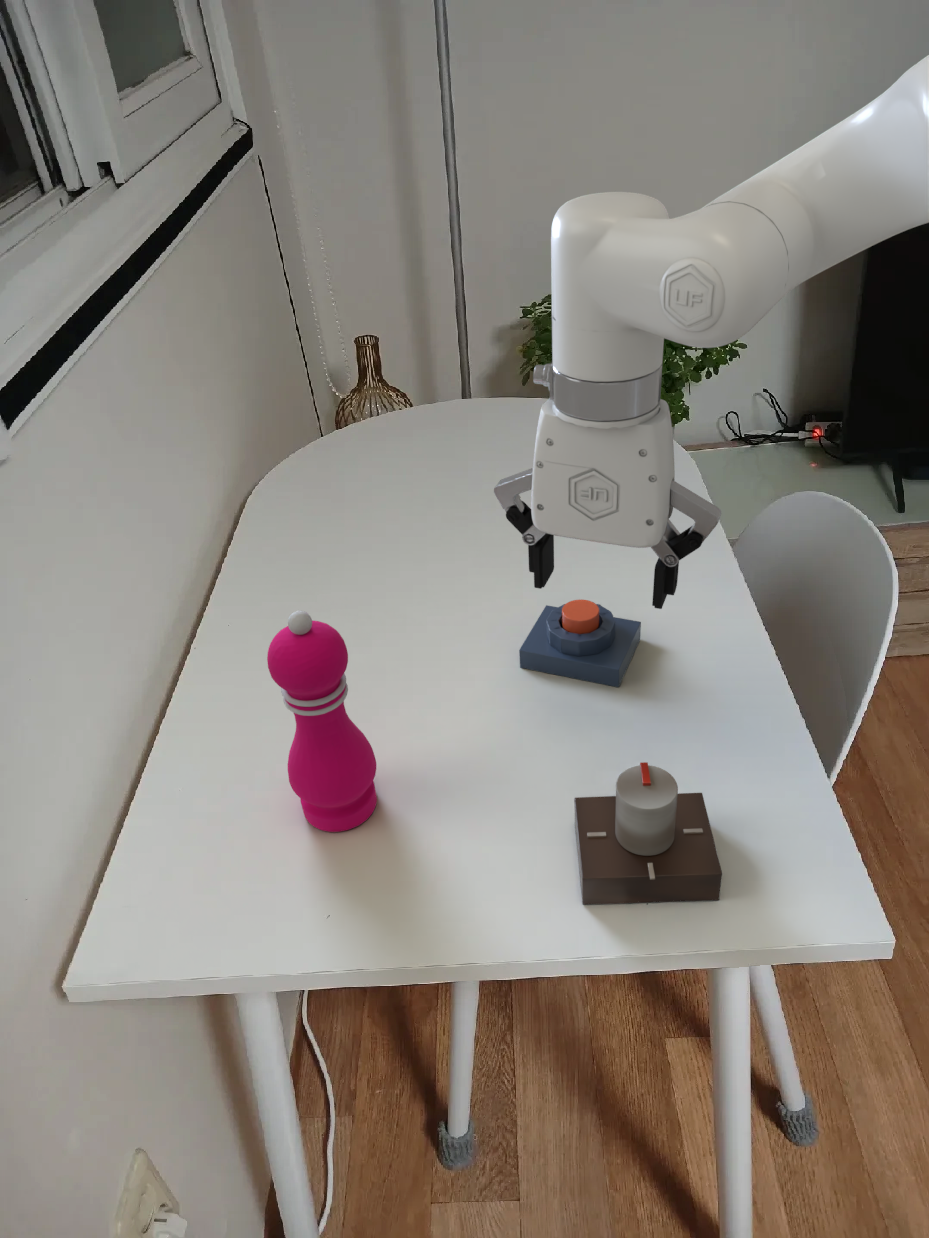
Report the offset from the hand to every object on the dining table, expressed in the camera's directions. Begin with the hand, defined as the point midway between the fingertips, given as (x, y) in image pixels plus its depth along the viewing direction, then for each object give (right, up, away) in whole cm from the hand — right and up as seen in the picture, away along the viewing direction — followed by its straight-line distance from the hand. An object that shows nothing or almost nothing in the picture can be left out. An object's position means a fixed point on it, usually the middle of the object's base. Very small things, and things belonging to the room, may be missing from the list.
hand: (601, 588), depth 77 cm
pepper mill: (-22, -18, +4) cm, 29 cm away
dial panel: (+3, -21, -3) cm, 21 cm away
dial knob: (+3, -19, -5) cm, 19 cm away
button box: (+1, -6, +18) cm, 19 cm away
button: (0, -3, +16) cm, 17 cm away
